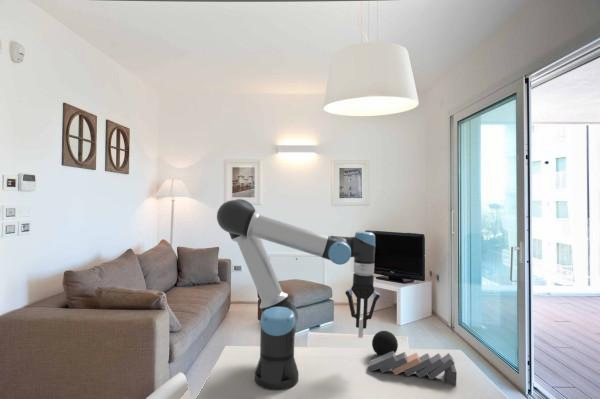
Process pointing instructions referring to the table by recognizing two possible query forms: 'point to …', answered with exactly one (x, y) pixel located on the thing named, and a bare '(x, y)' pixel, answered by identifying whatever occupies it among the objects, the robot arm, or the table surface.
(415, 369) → the domino
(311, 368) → the table surface
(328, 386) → the table surface
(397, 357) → the domino
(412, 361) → the domino
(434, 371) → the domino
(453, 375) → the block
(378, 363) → the domino
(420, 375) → the domino
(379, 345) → the black ball
